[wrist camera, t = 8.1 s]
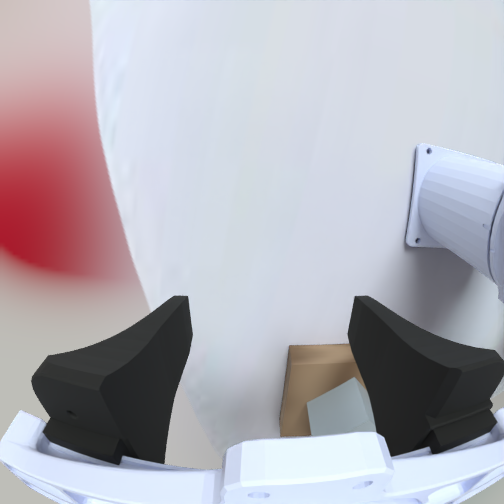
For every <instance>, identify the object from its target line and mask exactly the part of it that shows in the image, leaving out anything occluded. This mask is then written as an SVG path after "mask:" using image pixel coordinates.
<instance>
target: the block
mask: <svg viewBox="0 0 504 504" xmlns="http://www.w3.org/2000/svg"><path fill="white" fill-rule="evenodd" d="M307 408H308V415H309V422H310V428H311V435H312V436H322V435H332V434H341V433H349V432H356V431H372V432H376V427H375V422H374V416H373V412H372V407H371V403H370V399H369V395H368V392H367V391H366V390H365V388H364V387H363V386H362V385H361V384H360V383H359V381H358V380H357V379H356V378H355V377H353V378H352V379H350V380H348V381H347V382H345V383H343V384H341V385H339V386H338V387H336V388H334V389H332V390H330V391H328V392H327V393H325V394H323V395H321V396H319V397H317V398H315V399H313V400H311V401H309V402H307Z"/></svg>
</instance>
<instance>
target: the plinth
mask: <svg viewBox="0 0 504 504" xmlns="http://www.w3.org/2000/svg"><path fill="white" fill-rule="evenodd" d="M353 377H355V378H356V379H357V380H358V381H359V383H360V384H361V385H362V386H363V387H364V388H365V390H366V391H367V389H366V387H365V384H364V382H363V379H362V377H361V374H360V372H359V369H358V367H357V364H356V362H355V359H354V357H353V354H352V351H351V347H350V344H333V345H289V352H288V360H287V368H286V376H285V384H284V391H283V398H282V405H281V412H280V419H279V420H280V437H284V436H308V435H311V428H310V422H309V415H308V408H307V402H309V401H311V400H313V399H315V398H317V397H319V396H321V395H323V394H325V393H327V392H328V391H330V390H332V389H334V388H336V387H338V386H339V385H341V384H343V383H345V382H347V381H348V380H350V379H352V378H353Z"/></svg>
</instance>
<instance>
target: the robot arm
mask: <svg viewBox="0 0 504 504" xmlns="http://www.w3.org/2000/svg"><path fill="white" fill-rule="evenodd" d="M427 148H428V149H429V153H428V154H427V151H426V150H427ZM417 238H418V241H417V242H415V240H416V239H417ZM406 243H407V244H408V245H409V246H411V247H434V248H447V249H449V250H450V251H452V252H453V253H454V254H456V255H457V256H459V257H460V258H462V259H463V260H464V261H466V262H467V263H469V264H470V265H471V266H473V267H474V268H475V269H477V270H478V271H479V272H481V273H482V274H483V275H485V276H486V277H487V278H489V279H490V280H491V281H493V282H494V283H495V284H496V285H497V286H498V289H499V295H498V299H500V300H501V301H502V302H503V303H504V165H500V164H497V163H495V162H492V161H489V160H486V159H482V158H479V157H476V156H472V155H469V154H465V153H461V152H458V151H454V150H450V149H446V148H442V147H437V146H433V145H429V144H424V143H420V144H418V145H417V148H416V161H415V173H414V184H413V193H412V201H411V209H410V216H409V222H408V229H407V235H406ZM192 336H193V332H192V325H191V317H190V309H189V300H188V296H173V297H172V298H170V299H169V300H167V301H166V302H165V303H163V304H162V305H161V306H160V307H158V308H157V309H156V310H154V311H153V312H152V313H150V314H149V315H148V316H146V317H145V318H143V319H142V320H140V321H139V322H137V323H136V324H134V325H133V326H131V327H129V328H128V329H126V330H124V331H122V332H121V333H119V334H117V335H115V336H113V337H111V338H108V339H106V340H103V341H101V342H99V343H96V344H94V345H91V346H88V347H85V348H81V349H78V350H74V351H70V352H65V353H60V354H55V355H49V356H47V358H46V359H45V360H44V362H43V363H42V364H41V365H40V367H39V368H38V369H37V371H36V372H35V373H34V375H33V376H32V380H31V382H32V386H33V390H34V392H35V394H36V396H37V398H38V399H39V401H40V402H41V404H42V405H43V407H44V408H45V410H46V412H47V413H48V414H49V416H50V417H51V418H50V420H49V421H48V423H46V422H45V421H43V420H42V419H40V418H39V417H36V416H34V415H32V414H29V413H27V412H25V411H23V410H20V411H19V413H18V414H17V416H16V417H15V419H14V420H13V422H12V424H11V425H10V427H9V428H8V430H7V431H6V433H5V435H4V436H3V438H2V440H1V441H0V461H1V462H2V463H3V464H4V465H5V466H6V467H7V468H8V469H9V470H10V471H11V472H12V473H13V474H14V475H16V476H17V477H18V478H19V479H20V480H21V481H22V482H23V483H25V484H26V485H27V486H28V487H29V488H31V489H33V490H35V491H36V492H38V493H40V494H42V495H44V496H46V497H47V498H49V499H51V500H53V501H55V502H57V503H59V504H459V503H461V502H463V501H464V500H466V499H468V498H470V497H472V496H473V495H475V494H477V493H479V492H480V491H482V490H483V489H485V488H487V487H489V486H490V485H492V484H493V483H495V482H497V481H498V480H500V479H501V478H503V477H504V407H503V408H501V409H499V410H497V411H496V412H495V413H494V414H492V412H491V411H490V409H491V408H492V406H493V404H492V402H491V400H490V397H491V396H492V394H493V393H494V391H495V390H496V388H497V386H498V385H499V383H500V381H501V379H502V377H503V375H504V360H503V359H502V358H501V357H500V356H499V354H498V353H497V352H496V351H495V350H490V349H483V348H476V347H471V346H467V345H463V344H459V343H456V342H453V341H450V340H447V339H444V338H441V337H439V336H436V335H434V334H432V333H430V332H428V331H425V330H423V329H421V328H419V327H417V326H416V325H414V324H412V323H410V322H409V321H407V320H405V319H404V318H402V317H400V316H399V315H397V314H396V313H394V312H393V311H391V310H390V309H388V308H387V307H385V306H384V305H382V304H381V303H379V302H378V301H376V300H374V299H373V298H371V297H369V296H355V298H354V303H353V309H352V314H351V319H350V324H349V329H348V339H349V343H350V347H351V351H352V354H353V357H354V359H355V362H356V364H357V367H358V369H359V372H360V374H361V377H362V379H363V382H364V384H365V387H366V389H367V392H368V395H369V399H370V403H371V407H372V412H373V416H374V422H375V427H376V432H372V431H356V432H349V433H341V434H332V435H322V436H310V437H295V438H263V439H255V440H246V441H243V442H241V443H238V444H236V445H234V446H232V447H230V448H228V449H227V450H226V452H225V454H224V456H223V463H222V469H211V470H203V469H194V468H186V467H178V466H172V465H166V464H164V463H165V452H166V444H167V437H168V430H169V424H170V418H171V412H172V407H173V402H174V397H175V394H176V391H177V388H178V385H179V382H180V379H181V376H182V373H183V370H184V367H185V365H186V362H187V359H188V356H189V352H190V347H191V342H192Z"/></svg>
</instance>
